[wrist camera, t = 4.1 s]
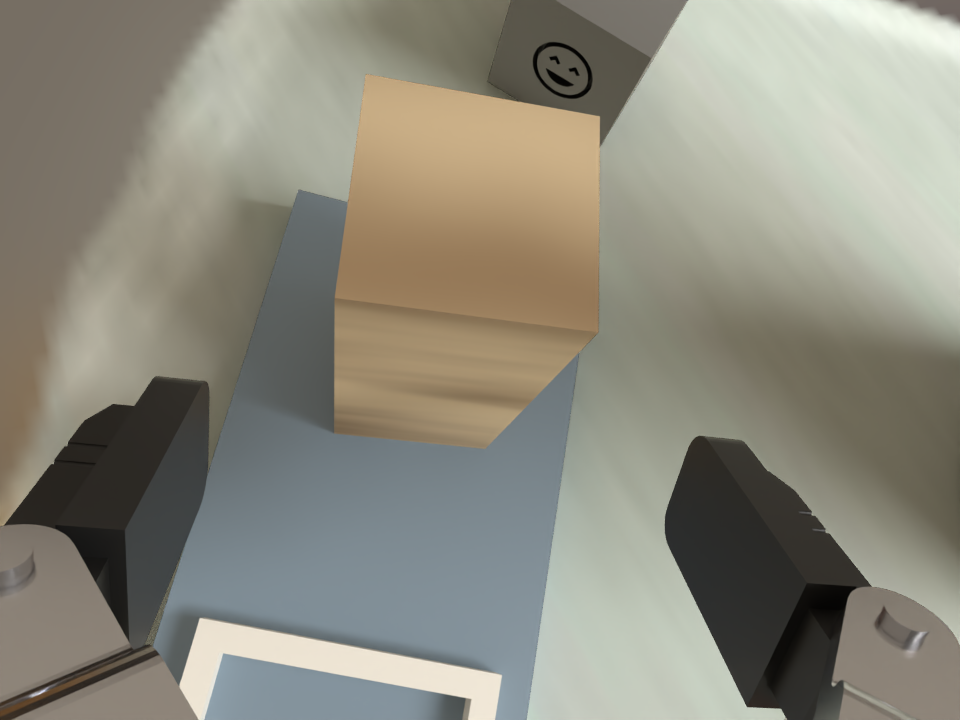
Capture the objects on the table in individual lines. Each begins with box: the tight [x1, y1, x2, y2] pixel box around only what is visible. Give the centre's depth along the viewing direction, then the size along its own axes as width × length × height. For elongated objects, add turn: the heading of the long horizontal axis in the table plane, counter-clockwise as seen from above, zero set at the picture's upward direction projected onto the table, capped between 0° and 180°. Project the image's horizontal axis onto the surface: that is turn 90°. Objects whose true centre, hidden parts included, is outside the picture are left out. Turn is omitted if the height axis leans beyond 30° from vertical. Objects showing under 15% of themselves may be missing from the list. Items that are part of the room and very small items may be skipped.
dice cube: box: [487, 0, 688, 146], centre depth 26 cm, size 5×5×5 cm
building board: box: [153, 190, 579, 720], centre depth 20 cm, size 22×10×2 cm, turn 170°
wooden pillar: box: [334, 74, 600, 449], centre depth 17 cm, size 4×4×10 cm
